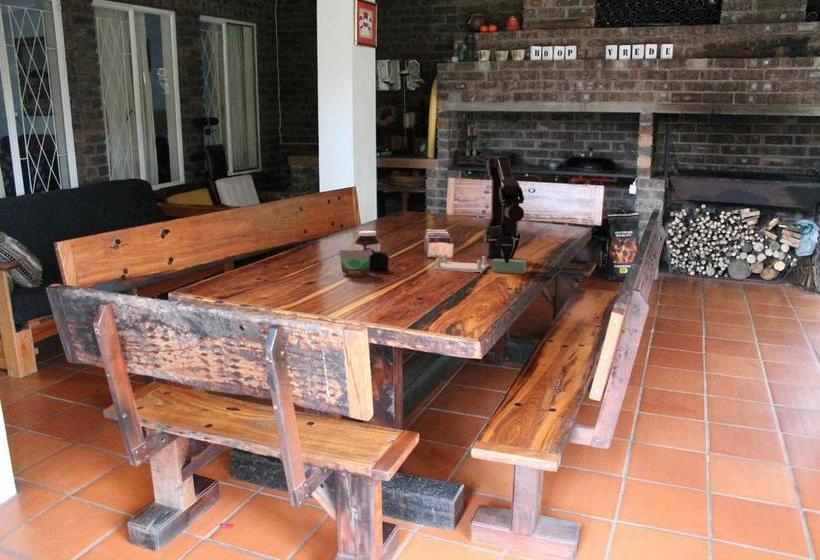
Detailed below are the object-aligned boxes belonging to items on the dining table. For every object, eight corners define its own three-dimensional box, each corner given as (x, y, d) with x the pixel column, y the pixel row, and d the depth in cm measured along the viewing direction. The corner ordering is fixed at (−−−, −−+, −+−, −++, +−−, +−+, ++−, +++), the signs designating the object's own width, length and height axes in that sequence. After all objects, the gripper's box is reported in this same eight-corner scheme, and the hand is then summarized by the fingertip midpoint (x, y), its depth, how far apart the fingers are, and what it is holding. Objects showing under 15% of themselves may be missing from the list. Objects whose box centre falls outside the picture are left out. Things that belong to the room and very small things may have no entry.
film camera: (394, 269, 277) (394, 246, 275) (386, 274, 268) (386, 250, 266) (356, 268, 281) (356, 244, 279) (347, 272, 272) (347, 248, 270)
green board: (494, 270, 275) (494, 258, 274) (526, 272, 271) (526, 260, 270) (491, 272, 270) (491, 260, 269) (523, 274, 267) (524, 262, 266)
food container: (340, 279, 257) (339, 251, 255) (338, 276, 263) (337, 249, 261) (375, 278, 260) (374, 250, 258) (372, 275, 266) (372, 247, 264)
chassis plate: (442, 265, 284) (442, 254, 284) (488, 267, 279) (488, 256, 278) (434, 270, 273) (434, 259, 272) (481, 273, 268) (481, 261, 267)
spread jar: (381, 258, 302) (381, 230, 300) (377, 263, 291) (377, 234, 289) (352, 258, 304) (352, 230, 301) (347, 262, 292) (347, 233, 290)
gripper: (493, 215, 278) (492, 256, 281) (482, 220, 261) (482, 264, 264) (522, 216, 275) (521, 257, 278) (513, 221, 257) (512, 265, 260)
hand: (508, 260), depth 270 cm, fingers open, 9 cm apart
